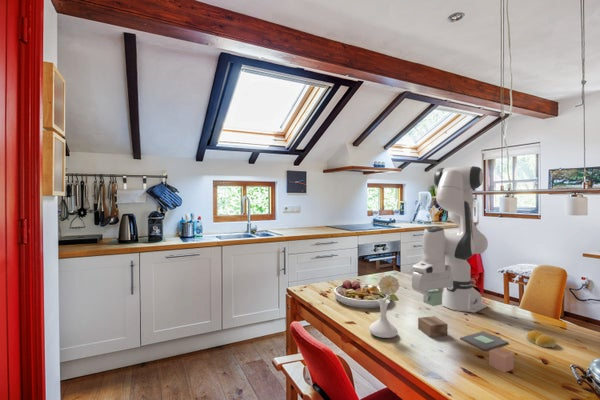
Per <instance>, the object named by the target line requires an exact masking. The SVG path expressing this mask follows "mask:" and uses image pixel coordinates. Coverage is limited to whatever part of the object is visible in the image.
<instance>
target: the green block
mask: <svg viewBox="0 0 600 400" xmlns="http://www.w3.org/2000/svg"><path fill="white" fill-rule="evenodd" d="M428 296H430V300H429V301H426V300H424V298H423V300H422V301H423V303H424V304H427V305H429V306H432V307H435V306H436V307H437V306H441V305H442V298H443V293H442V292H440V291H438V289H434V290H429V292H428ZM442 306H443V305H442Z"/></svg>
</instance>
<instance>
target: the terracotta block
mask: <svg viewBox="0 0 600 400" xmlns="http://www.w3.org/2000/svg"><path fill="white" fill-rule="evenodd" d="M488 355H489V356H488V366H490V367H492V368H494V369H496V370H498V371H500V372H501V373H504V374H505V372H506V373H507V371H508V372H510V370H511V371H513V370H514V366H515V354H514V353H512V352H509V351H507V350H506V349H502V348H501V347H500V346H499V347H496V348H493V349H490V350H488ZM512 369H513V370H512Z"/></svg>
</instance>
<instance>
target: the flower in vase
mask: <svg viewBox="0 0 600 400" xmlns="http://www.w3.org/2000/svg"><path fill="white" fill-rule="evenodd" d="M377 286H379V288H380V291H381V292H382V293H385V294H386V295H388V297H390V301H389V300H387V298H388V297H387V298H386V297H385V296H384V295H382V294H380V293H379V292H378V293H379V294H380V295H382V296H383V297H385V298H386V299H378V300H377V301H378V303H379V305H380V307H379V309H380V316H379V319H377V320H375V321H374V322H372V323H371V324H369V327H368V330H369V332H370V334H371V335H373V336H376V337H377V338H382V339H383V338H384V339H385V338H386V339H390V338H394V337H396V336H397V335H398V334H399V331H398V328H397V327H396V326H395V325H394V324H393V323H391V322H390V321H389V320H388V317H387V308H388V307H389V304H390V303H391V301H392V302H394V301H396V302H397V301H400V299H399V298H398V297H397V295H396V293H397V291H398V290H399V288H400V286H401V285H400V282H399V279H398V278H397V277H395V276H393V275H391V274H388V275H387V274H386V275H385V276H382V277H381V278H380V279H379V281H378V284H377ZM390 294H391V295H390Z"/></svg>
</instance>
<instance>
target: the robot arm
mask: <svg viewBox="0 0 600 400" xmlns="http://www.w3.org/2000/svg"><path fill="white" fill-rule="evenodd" d="M483 172H484V171H483V169H482V168H481V167H480V166H475V165H474V166H473V165H472V166H468V165H467V166H462V165H461V166H459V165H458V166H450V167H442V168H441V167H440V168H437V169H436V170H435V172H434V174H433V175H434V176H433V183H434V185H435V186H436V188H437V189H436V195H435V200H436V203H437V205H438V206H439V207H440V208H441V209H443V210H445V211H446V212H447V217H448V219H449V220H450V222H453V223H454V224H455V225H457V226H458V229H459V230H458V229H444V228H443V227H440V226H434V225H433V226H428V227H426V228H424V231H423V237H422V243H421V244H422V252H423V253H422V257H421V260H420V261H418V262H417V263H416V264H413V265H412V270H413V272H412V275H411V289H413V291H416V292H419V293H420V292H421V293H422V295H423V299H424V300H426V301H429V300H430V296H428V292H429V290H437V291H440V292H442V307H445V308H447V309H450V310H453V311H458V312H459V311H460V312H468V313H469V312H470V313H473V314H474V313H477V312H480V311H482V310H484V309H485V308H488V305H487V304H486V303H485V302H483V298H482V293H480V292H479V291H478V290H476V289H475V288H474V287H473V286H474V285H476V283H477V281H476V280H475V279H471V265H470V263H469V261H467V260H469V259H470V258H472V257H473V256H474V255H475V254H476V255H480V254H483V253H485V252H486V250H487V249H488V245H489V243H488V242H489V241H488V238H487V237H486V236H485V235H484V234H483V233H482V232H481V230H479V229H478V228H477V226H476V224H475V222H474V215H473V214H474V213H473V210H474V209H473V206H474V195H473V194H474V193H473V192H474V191H476V189H478V188H480V187H481V185H482V183H483V181H484V173H483Z"/></svg>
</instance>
